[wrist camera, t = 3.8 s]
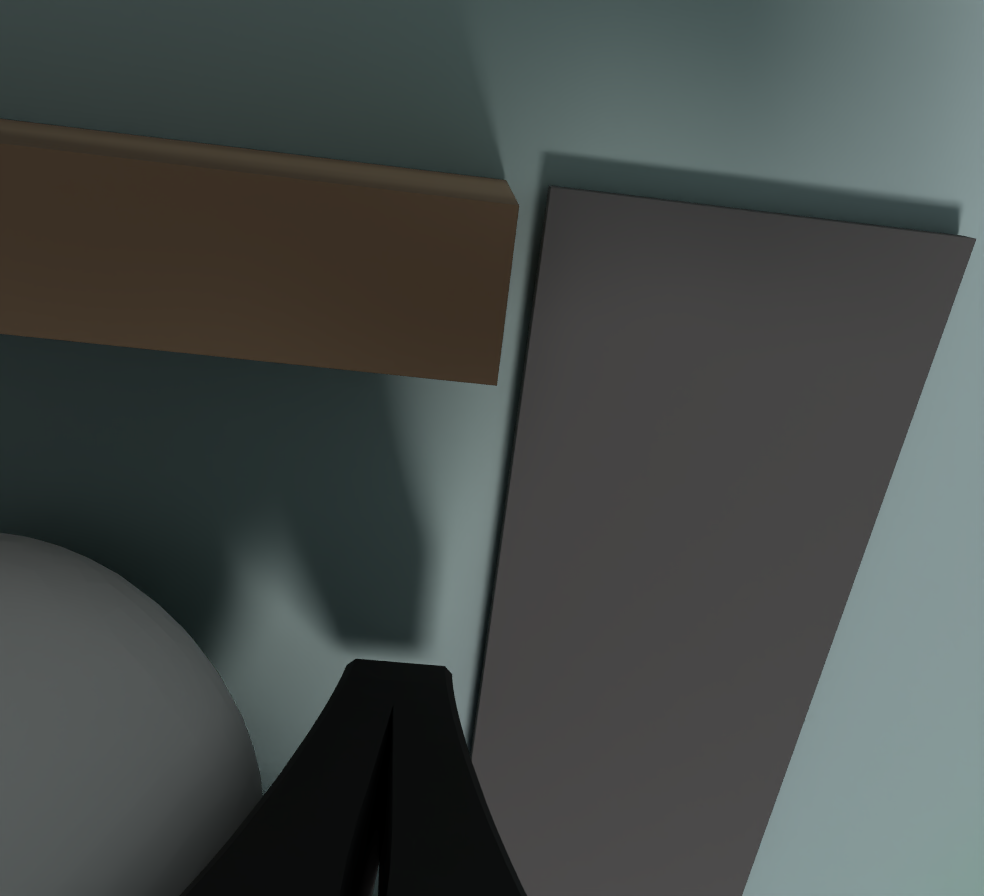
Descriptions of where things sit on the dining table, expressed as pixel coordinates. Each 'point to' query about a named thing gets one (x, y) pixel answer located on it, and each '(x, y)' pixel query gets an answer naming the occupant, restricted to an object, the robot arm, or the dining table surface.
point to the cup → (108, 735)
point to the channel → (252, 254)
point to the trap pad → (687, 523)
